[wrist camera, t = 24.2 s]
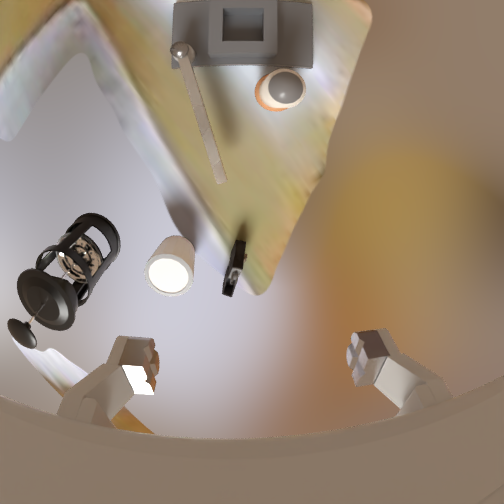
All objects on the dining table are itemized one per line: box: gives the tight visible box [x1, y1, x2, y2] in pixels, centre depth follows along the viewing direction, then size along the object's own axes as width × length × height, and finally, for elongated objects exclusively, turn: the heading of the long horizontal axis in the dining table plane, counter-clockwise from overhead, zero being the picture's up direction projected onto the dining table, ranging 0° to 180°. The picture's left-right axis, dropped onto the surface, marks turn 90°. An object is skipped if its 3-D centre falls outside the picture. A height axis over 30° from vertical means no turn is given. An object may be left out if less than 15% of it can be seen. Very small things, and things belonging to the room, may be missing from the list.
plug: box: [255, 69, 306, 111], centre depth 28 cm, size 5×5×12 cm
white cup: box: [144, 236, 195, 297], centre depth 41 cm, size 7×7×7 cm
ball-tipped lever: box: [170, 41, 227, 184], centre depth 30 cm, size 18×2×2 cm, turn 15°
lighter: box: [222, 240, 247, 297], centre depth 43 cm, size 9×2×6 cm
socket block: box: [172, 0, 313, 69], centre depth 27 cm, size 18×10×4 cm, turn 89°
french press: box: [7, 213, 120, 349], centre depth 32 cm, size 12×9×23 cm
